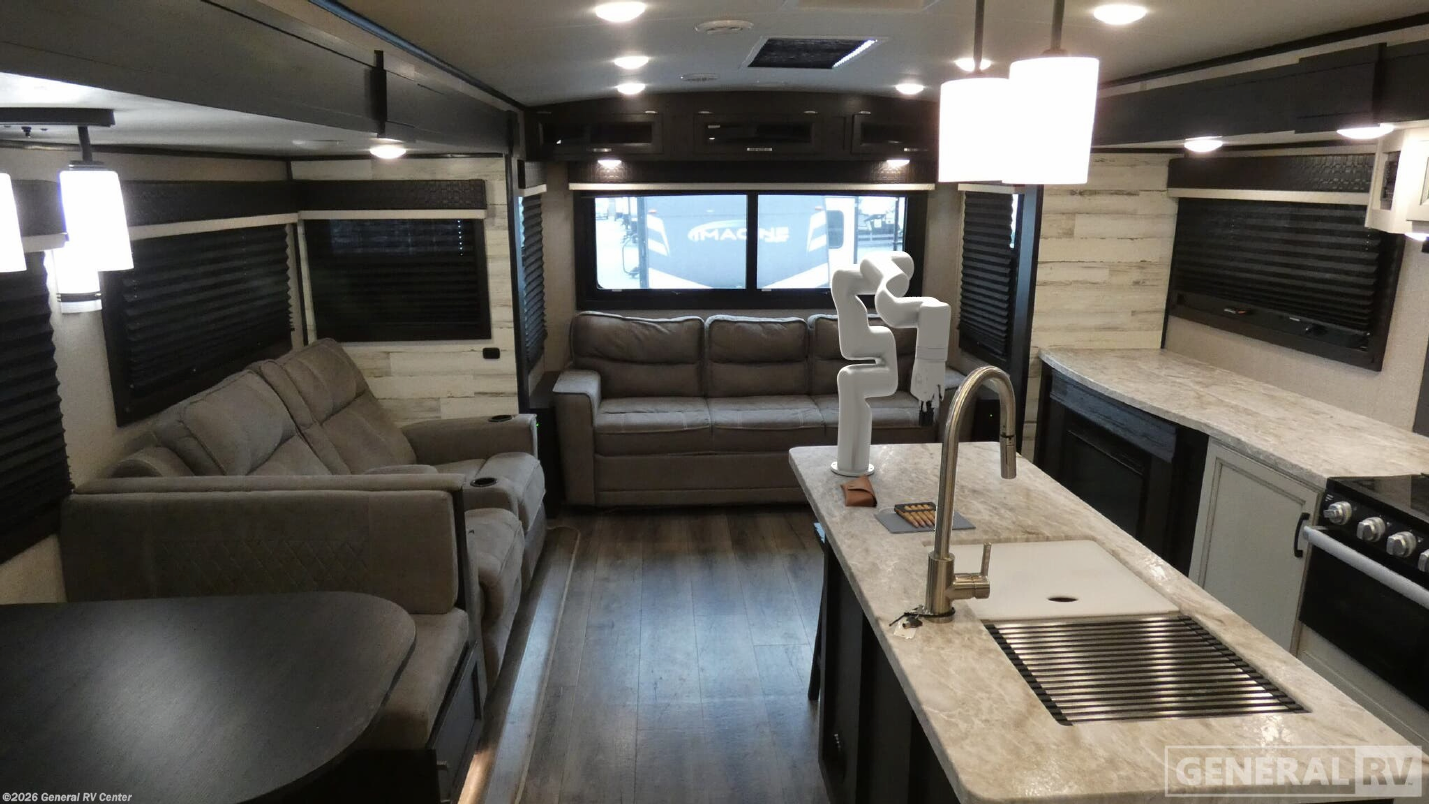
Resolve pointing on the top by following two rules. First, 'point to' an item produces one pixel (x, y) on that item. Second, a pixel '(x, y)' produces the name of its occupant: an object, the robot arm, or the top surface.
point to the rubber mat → (902, 525)
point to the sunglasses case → (859, 493)
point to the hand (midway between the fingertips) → (925, 425)
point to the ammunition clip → (917, 513)
